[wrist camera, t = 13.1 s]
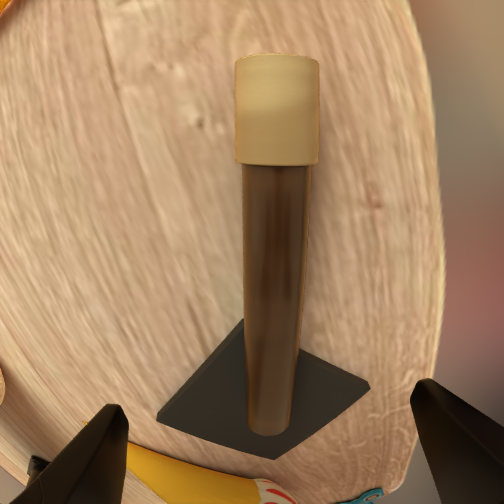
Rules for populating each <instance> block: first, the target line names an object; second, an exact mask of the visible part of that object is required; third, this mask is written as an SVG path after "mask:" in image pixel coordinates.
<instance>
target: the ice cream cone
mask: <svg viewBox="0 0 504 504" xmlns="http://www.w3.org/2000/svg"><path fill="white" fill-rule="evenodd" d="M83 422H84V421H83ZM84 423H85V425H87V424H88V423H86V422H84ZM126 468H127V469H128V470H129V471H130V472H132V473H133V474H134V475H135V476H136V477H137V478H138V479H139V480H140V481H141V482H142V483H144V484H145V485H146V486H147V487H148V488H149V489H150V490H152V491H153V492H154V493H155V494H156V495H158V496H159V497H160V498H161V499H162V500H164V501H165V502H166V503H167V504H299V503H298V502H297V501H296V500H295V498H294V497H293V496H292V495H290V494H289V493H288V492H287V491H286V490H285V489H283V488H282V487H280V486H279V485H277V484H275V483H274V482H272V481H270V480H267V479H262V478H257V479H246V478H242V477H237V476H233V475H229V474H225V473H221V472H217V471H213V470H209V469H206V468H202V467H199V466H195V465H192V464H189V463H185V462H182V461H179V460H176V459H173V458H170V457H167V456H164V455H161V454H159V453H156V452H153V451H150V450H148V449H145V448H143V447H140V446H137V445H135V444H132V443H130V442H128V446H127V464H126Z"/></svg>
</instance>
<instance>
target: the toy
mask: <svg viewBox="0 0 504 504" xmlns="http://www.w3.org/2000/svg"><path fill="white" fill-rule="evenodd" d="M383 495H384V492H383V489H375V490H371V491H369V492H366V493H364V494H363V495H361V496H360V498H358V499H355V500H353V501H351V502H348V503H339V504H374V503H373V502H372V501H374V500H376V499H378V498H380V497H381V496H383Z"/></svg>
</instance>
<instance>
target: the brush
mask: <svg viewBox="0 0 504 504" xmlns="http://www.w3.org/2000/svg"><path fill="white" fill-rule="evenodd" d="M318 154H319V63H318V62H317V61H316V60H314V59H311V58H308V57H305V56H300V55H293V54H281V53H268V54H256V55H250V56H246V57H242V58H240V59H238V60H236V62H235V161H236V162H238V163H241V164H242V201H243V287H244V348H245V398H246V423H247V425H248V427H249V428H250V429H251V430H252V431H253V432H255V433H257V434H259V435H264V436H273V435H277V434H279V433H281V432H283V431H284V430H285V429H286V428H287V427H288V426H289V423H290V417H291V410H292V402H293V394H294V386H295V378H296V369H297V360H298V351H299V341H300V331H301V321H302V310H303V299H304V286H305V273H306V259H307V244H308V228H309V209H310V186H311V165H315V164H317V163H318Z"/></svg>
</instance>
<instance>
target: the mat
mask: <svg viewBox="0 0 504 504" xmlns="http://www.w3.org/2000/svg"><path fill="white" fill-rule="evenodd" d="M370 389H371V388H370V386H369V384H368V382H367V381H365V380H363V379H361V378H359V377H357V376H355V375H353V374H351V373H348V372H346V371H344V370H342V369H340V368H338V367H336V366H334V365H332V364H330V363H328V362H326V361H324V360H322V359H320V358H318V357H316V356H314V355H312V354H310V353H308V352H306V351H304V350H302V349H300V348H299V351H298V360H297V369H296V378H295V386H294V394H293V402H292V410H291V417H290V423H289V426H288V427H287V428H286V429H285V430H284V431H283V432H281V433H279V434H277V435H273V436H264V435H259V434H257V433H255V432H253V431H252V430H251V429H250V428H249V427H248V425H247V423H246V398H245V348H244V319H242V320H241V321H240V322H239V323H238V324H237V326H236V327H235V328H234V329H233V330H232V331H231V332H230V334H229V335H228V336H227V337H226V338H225V339H224V340H223V342H222V343H221V344H220V345H219V346H218V347H217V348H216V349H215V351H214V352H213V353H212V354H211V355H210V356H209V357H208V358H207V360H206V361H205V362H204V363H203V364H202V365H201V366H200V367H199V369H198V370H197V371H196V372H195V373H194V374H193V375H192V376H191V377H190V378H189V380H188V381H187V382H186V383H185V384H184V385H183V386H182V387H181V388H180V389H179V391H178V392H177V393H176V394H175V395H174V396H173V397H172V398H171V399H170V400H169V401H168V402H167V404H166V405H165V406H164V407H163V408H162V409H161V410H160V411H159V412H158V414H157V419H156V421H157V422H160V423H162V424H165V425H167V426H170V427H172V428H175V429H177V430H180V431H182V432H185V433H188V434H190V435H193V436H196V437H199V438H201V439H204V440H207V441H210V442H213V443H216V444H219V445H222V446H225V447H229V448H232V449H235V450H239V451H242V452H245V453H249V454H253V455H256V456H260V457H264V458H268V459H272V460H275V459H277V458H278V457H280V456H281V455H283V454H285V453H286V452H288V451H289V450H291V449H292V448H294V447H295V446H297V445H298V444H300V443H301V442H303V441H304V440H305V439H307V438H308V437H310V436H311V435H313V434H314V433H315V432H317V431H318V430H320V429H321V428H322V427H324V426H325V425H326V424H328V423H329V422H330V421H332V420H333V419H334V418H336V417H337V416H338V415H340V414H341V413H342V412H343V411H345V410H346V409H347V408H348V407H350V406H351V405H352V404H353V403H355V402H356V401H357V400H358V399H360V398H361V397H362V396H363V395H364V394H366V393H367V392H368V391H369V390H370Z"/></svg>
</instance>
